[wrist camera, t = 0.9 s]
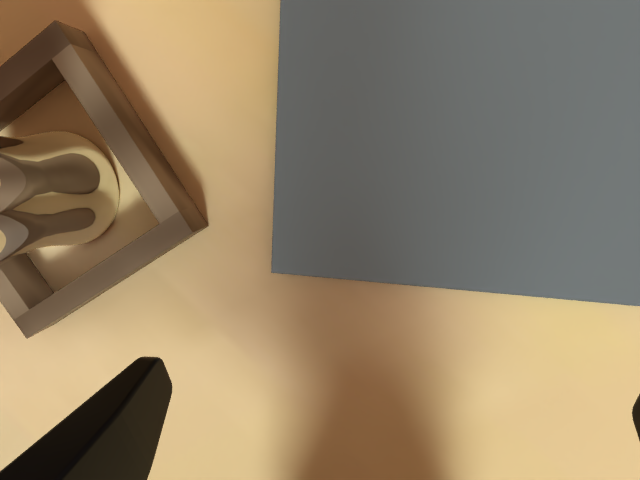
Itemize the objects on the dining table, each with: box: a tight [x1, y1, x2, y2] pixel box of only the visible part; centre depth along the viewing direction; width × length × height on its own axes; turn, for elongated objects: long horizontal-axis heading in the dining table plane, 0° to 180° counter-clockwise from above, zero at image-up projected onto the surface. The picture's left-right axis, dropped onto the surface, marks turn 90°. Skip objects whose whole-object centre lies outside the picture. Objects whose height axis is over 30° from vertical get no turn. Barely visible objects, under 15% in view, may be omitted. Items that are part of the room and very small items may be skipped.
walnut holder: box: [0, 20, 208, 338], centre depth 23 cm, size 11×11×2 cm
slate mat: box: [271, 0, 640, 306], centre depth 20 cm, size 18×18×1 cm
